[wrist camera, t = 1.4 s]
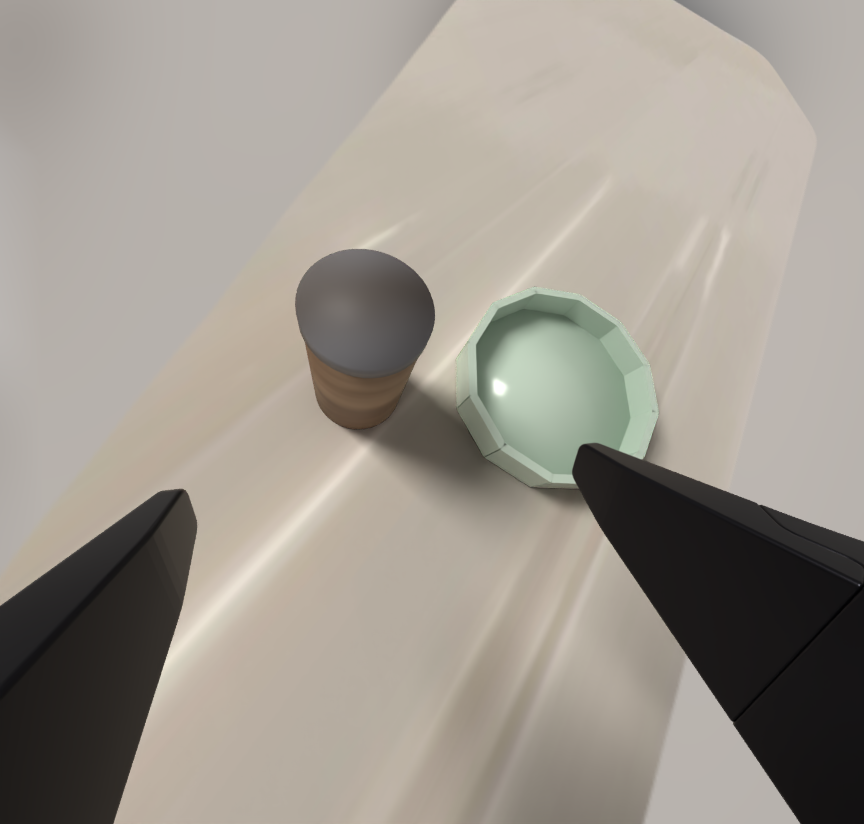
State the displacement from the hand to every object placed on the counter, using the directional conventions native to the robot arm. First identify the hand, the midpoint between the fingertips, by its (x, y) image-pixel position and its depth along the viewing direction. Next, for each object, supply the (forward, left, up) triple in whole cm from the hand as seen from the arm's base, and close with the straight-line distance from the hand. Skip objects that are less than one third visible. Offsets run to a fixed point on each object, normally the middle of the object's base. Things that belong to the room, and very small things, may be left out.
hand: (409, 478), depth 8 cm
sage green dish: (+1, -14, -13) cm, 19 cm away
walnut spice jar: (+6, -2, -13) cm, 15 cm away
